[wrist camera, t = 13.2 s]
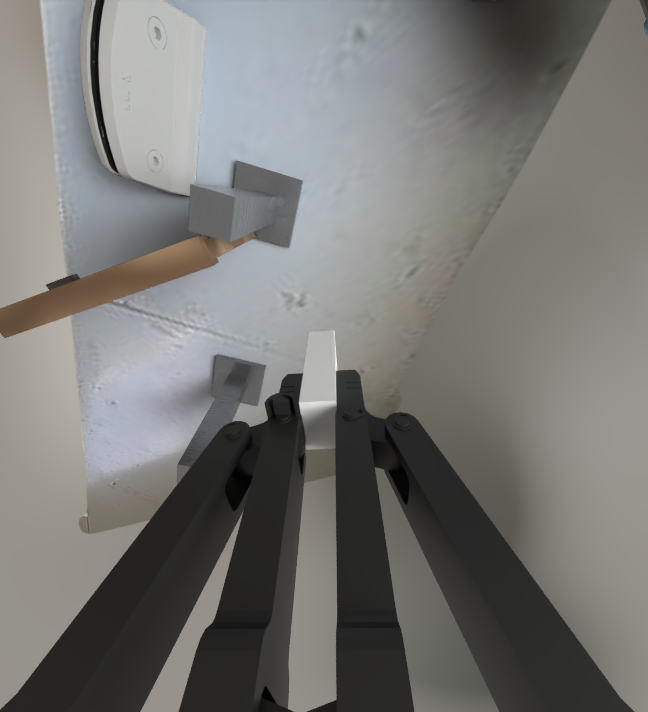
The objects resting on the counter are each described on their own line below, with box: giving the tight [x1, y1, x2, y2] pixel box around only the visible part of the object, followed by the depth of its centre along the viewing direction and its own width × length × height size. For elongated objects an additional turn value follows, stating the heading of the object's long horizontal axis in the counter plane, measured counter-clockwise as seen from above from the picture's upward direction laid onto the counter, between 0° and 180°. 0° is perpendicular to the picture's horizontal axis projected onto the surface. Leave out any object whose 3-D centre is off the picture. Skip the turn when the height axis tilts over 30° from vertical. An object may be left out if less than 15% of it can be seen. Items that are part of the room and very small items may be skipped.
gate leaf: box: [0, 232, 256, 338], centre depth 32 cm, size 3×22×17 cm, turn 108°
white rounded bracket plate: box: [80, 0, 207, 196], centre depth 30 cm, size 17×5×10 cm, turn 164°
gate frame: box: [177, 161, 303, 483], centre depth 36 cm, size 8×36×20 cm, turn 165°
